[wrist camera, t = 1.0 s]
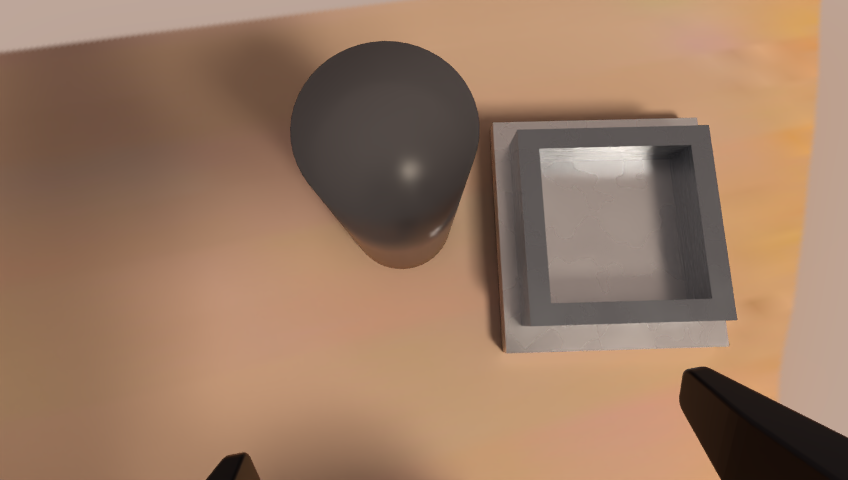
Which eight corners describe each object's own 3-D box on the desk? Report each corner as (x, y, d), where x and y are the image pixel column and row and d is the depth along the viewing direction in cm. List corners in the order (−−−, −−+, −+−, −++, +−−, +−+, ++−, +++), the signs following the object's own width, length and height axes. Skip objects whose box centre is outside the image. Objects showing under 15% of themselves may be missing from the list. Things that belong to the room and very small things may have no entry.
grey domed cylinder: (452, 267, 24) (484, 216, 12) (353, 270, 24) (288, 221, 12) (448, 172, 25) (475, 39, 13) (353, 175, 25) (292, 42, 13)
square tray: (716, 345, 23) (759, 348, 20) (502, 351, 23) (514, 356, 20) (686, 125, 25) (721, 99, 22) (490, 130, 25) (499, 105, 22)
